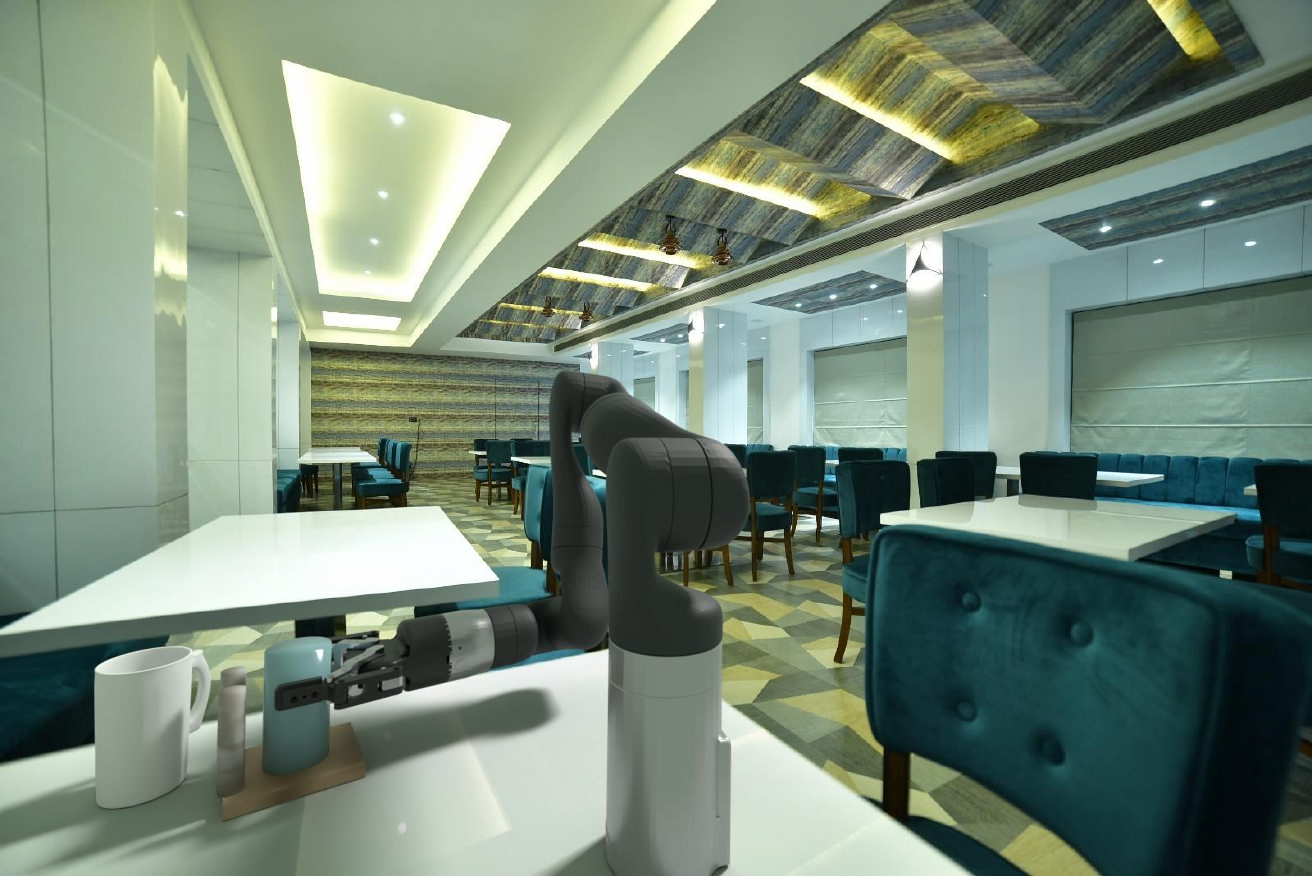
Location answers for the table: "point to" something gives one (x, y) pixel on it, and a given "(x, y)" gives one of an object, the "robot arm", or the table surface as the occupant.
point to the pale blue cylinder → (302, 730)
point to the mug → (146, 722)
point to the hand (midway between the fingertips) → (273, 682)
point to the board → (243, 767)
